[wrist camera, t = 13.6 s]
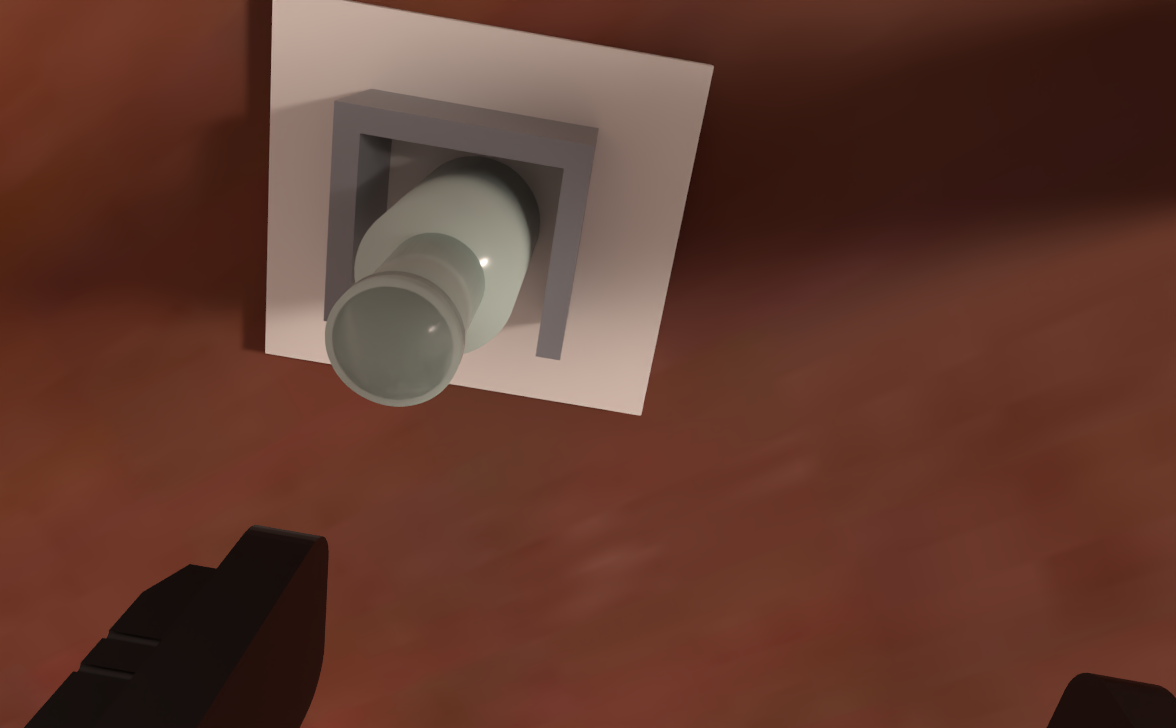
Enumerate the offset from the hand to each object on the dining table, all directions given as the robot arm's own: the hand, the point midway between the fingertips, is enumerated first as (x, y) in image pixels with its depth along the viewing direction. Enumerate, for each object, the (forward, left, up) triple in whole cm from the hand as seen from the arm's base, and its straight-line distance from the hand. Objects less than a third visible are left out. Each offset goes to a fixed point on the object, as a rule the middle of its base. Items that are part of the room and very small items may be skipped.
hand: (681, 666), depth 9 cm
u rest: (+7, +3, -31) cm, 32 cm away
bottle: (+7, +3, -30) cm, 31 cm away
